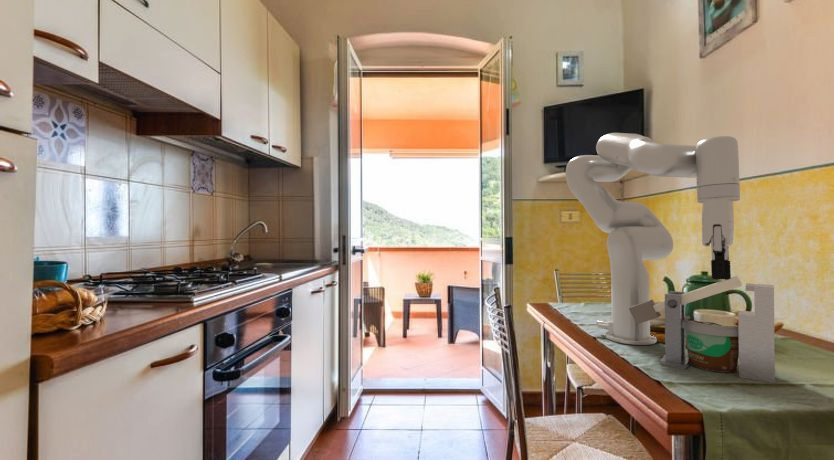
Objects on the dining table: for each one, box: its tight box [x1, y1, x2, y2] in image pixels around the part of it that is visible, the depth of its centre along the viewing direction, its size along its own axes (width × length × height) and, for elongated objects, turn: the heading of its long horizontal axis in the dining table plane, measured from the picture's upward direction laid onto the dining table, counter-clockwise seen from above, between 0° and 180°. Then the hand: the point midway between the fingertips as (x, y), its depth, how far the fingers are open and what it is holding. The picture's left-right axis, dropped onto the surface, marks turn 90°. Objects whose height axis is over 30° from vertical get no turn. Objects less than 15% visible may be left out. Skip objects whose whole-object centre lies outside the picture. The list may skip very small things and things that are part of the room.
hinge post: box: [659, 290, 690, 370], centre depth 94 cm, size 5×8×16 cm, turn 139°
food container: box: [681, 315, 739, 373], centre depth 90 cm, size 12×6×10 cm, turn 21°
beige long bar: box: [629, 275, 743, 324], centre depth 93 cm, size 22×4×4 cm, turn 49°
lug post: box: [737, 283, 776, 384], centre depth 84 cm, size 6×5×19 cm
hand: (721, 278), depth 88 cm, fingers closed
